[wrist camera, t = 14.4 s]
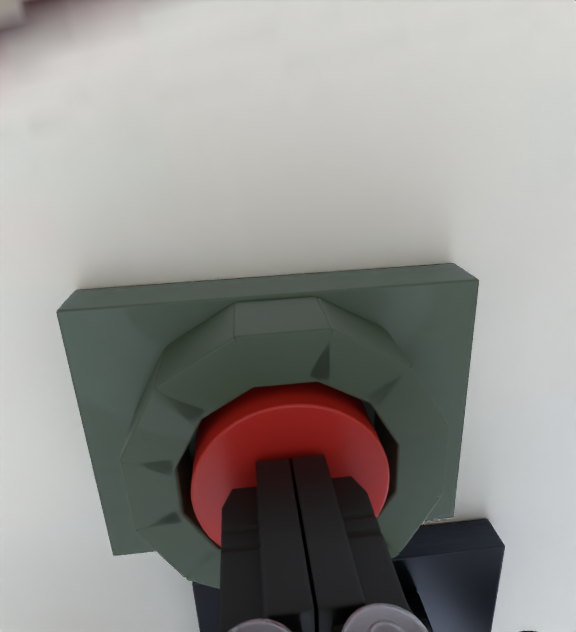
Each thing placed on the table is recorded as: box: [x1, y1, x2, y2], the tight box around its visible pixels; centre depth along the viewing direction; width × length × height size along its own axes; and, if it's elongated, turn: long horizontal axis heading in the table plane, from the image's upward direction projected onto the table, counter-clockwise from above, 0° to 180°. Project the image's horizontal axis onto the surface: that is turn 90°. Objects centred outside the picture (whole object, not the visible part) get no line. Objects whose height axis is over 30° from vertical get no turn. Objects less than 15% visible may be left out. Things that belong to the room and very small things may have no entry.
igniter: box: [57, 263, 479, 589], centre depth 13 cm, size 10×8×4 cm
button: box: [191, 382, 390, 546], centre depth 12 cm, size 4×4×2 cm
